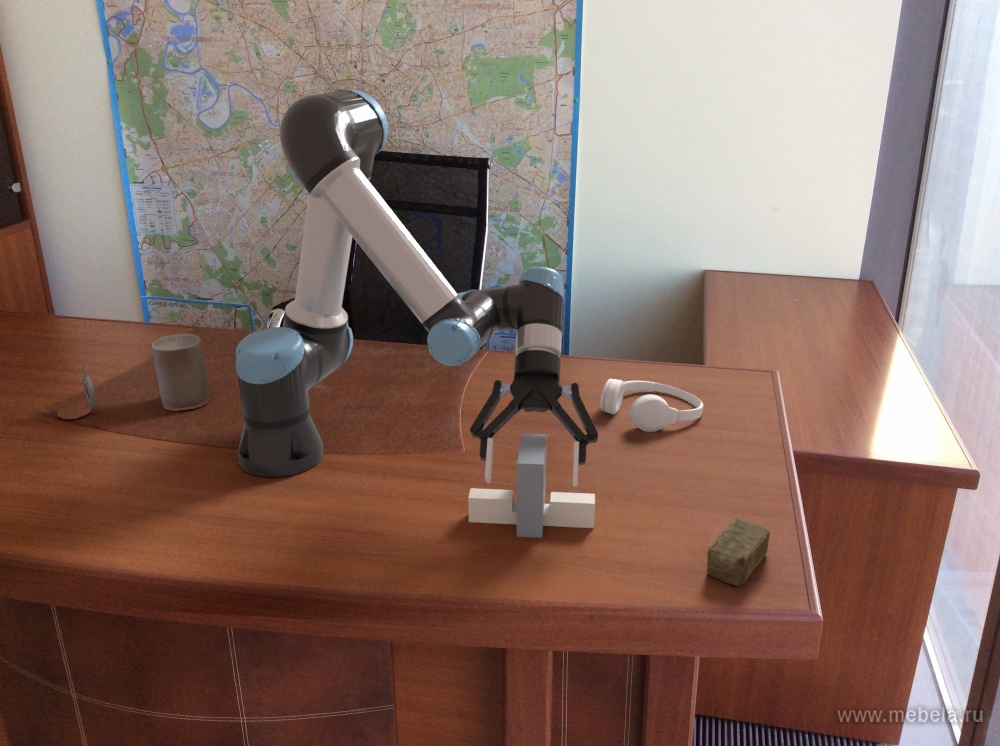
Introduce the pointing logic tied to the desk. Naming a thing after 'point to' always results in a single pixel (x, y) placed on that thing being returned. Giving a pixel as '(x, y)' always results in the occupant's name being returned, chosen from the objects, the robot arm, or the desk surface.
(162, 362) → the grey cylinder
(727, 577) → the stone block
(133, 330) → the desk surface
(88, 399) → the pocket watch
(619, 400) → the headphones
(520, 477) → the blue-grey rectangular block
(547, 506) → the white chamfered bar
